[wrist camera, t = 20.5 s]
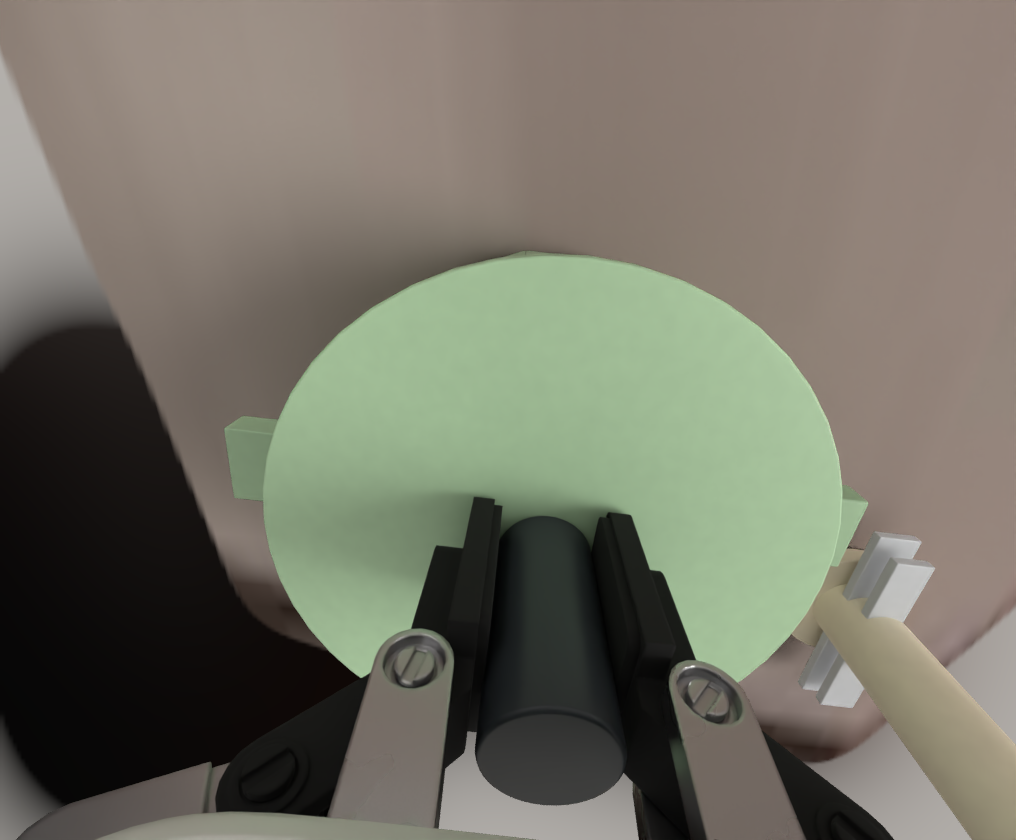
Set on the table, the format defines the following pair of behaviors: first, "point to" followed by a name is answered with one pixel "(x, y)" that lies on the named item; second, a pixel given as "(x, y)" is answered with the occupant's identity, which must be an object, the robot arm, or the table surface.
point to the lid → (553, 487)
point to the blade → (908, 681)
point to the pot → (255, 434)
